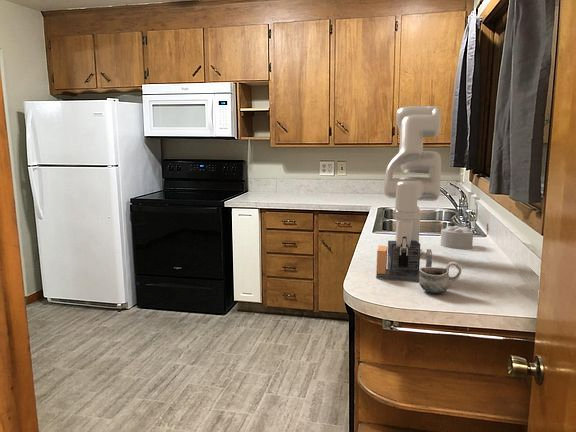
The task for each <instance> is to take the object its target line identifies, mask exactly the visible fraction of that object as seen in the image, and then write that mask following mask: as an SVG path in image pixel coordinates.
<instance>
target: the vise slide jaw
mask: <svg viewBox="0 0 576 432" xmlns="http://www.w3.org/2000/svg"><path fill="white" fill-rule="evenodd" d="M387 263H388V245H378V247H377V251H376V274H377V273H378V274H385V273H386V269H388V268H387Z"/></svg>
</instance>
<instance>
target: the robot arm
mask: <svg viewBox="0 0 576 432" xmlns="http://www.w3.org/2000/svg"><path fill="white" fill-rule="evenodd" d="M395 117H396V119H395V120H396V124H397V125H396V126H397V128H398V131H399V145H398V146H399V147H398V148H399V149H398V153H397V154H396V155H395V156H393V158H391V161H390V162H389V163H388V165H387V167H386V169H385V173H384V174H385V175H384V184H383V188H384V189H383V192H384V195H385V197H386V198H388V199H395V203H394V204H395V206H394V208H395V209H394V220H395V221H396V222H395V240H394V241H396V247H397V248H398V247H400V255H399V266H400V267H408V249H409V248H410V244H411V241H417V242H419V243H420V226H421V210H420V208H419V205H418V202H419V201H420V202H421V201H423V202H425V201H426V202H436V201H437V200H438V199H439V197H440V194H441V175H442V174H441V173H442V157H441V155H440V153H439V152H437V151H432V150H424V138H436V137H438V135H439V134H440V132H441V128H442V127H441V126H442V111H441V108H440V107H438V106H437V105H436V106H434V105H420V106H419V105H410V106H409V105H408V106H402V107H400V108H398V110H397V111H396V116H395ZM399 167H400V169H401V171H402V173H404V174H408V175H409V174H410V175H426V176H427V177H425V176H424V177H423V176H422V177H421V176H403V177H400V178H399V177H398V178H396V177H395V178H394V177H393V175H394V172H395V171H396V170H397V169H398V168H399ZM401 243H402V247H401ZM406 246H407V247H406ZM422 253H423V250H422V248H420V255H422Z"/></svg>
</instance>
